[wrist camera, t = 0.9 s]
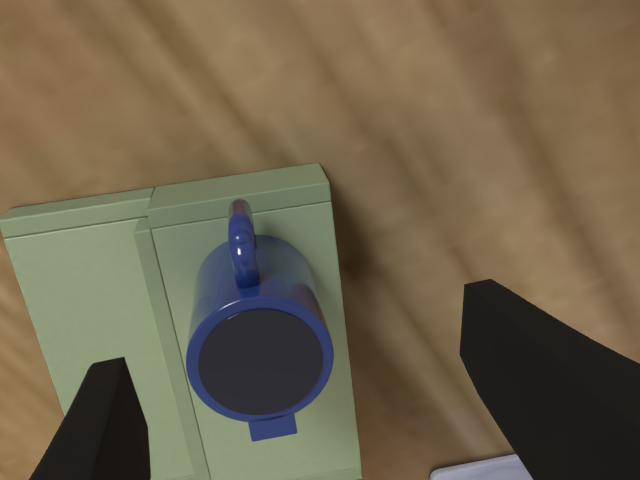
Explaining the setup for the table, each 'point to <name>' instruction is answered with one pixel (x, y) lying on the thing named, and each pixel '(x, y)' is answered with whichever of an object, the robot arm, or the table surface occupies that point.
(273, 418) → the jug
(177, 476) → the step rack
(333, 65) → the table surface
